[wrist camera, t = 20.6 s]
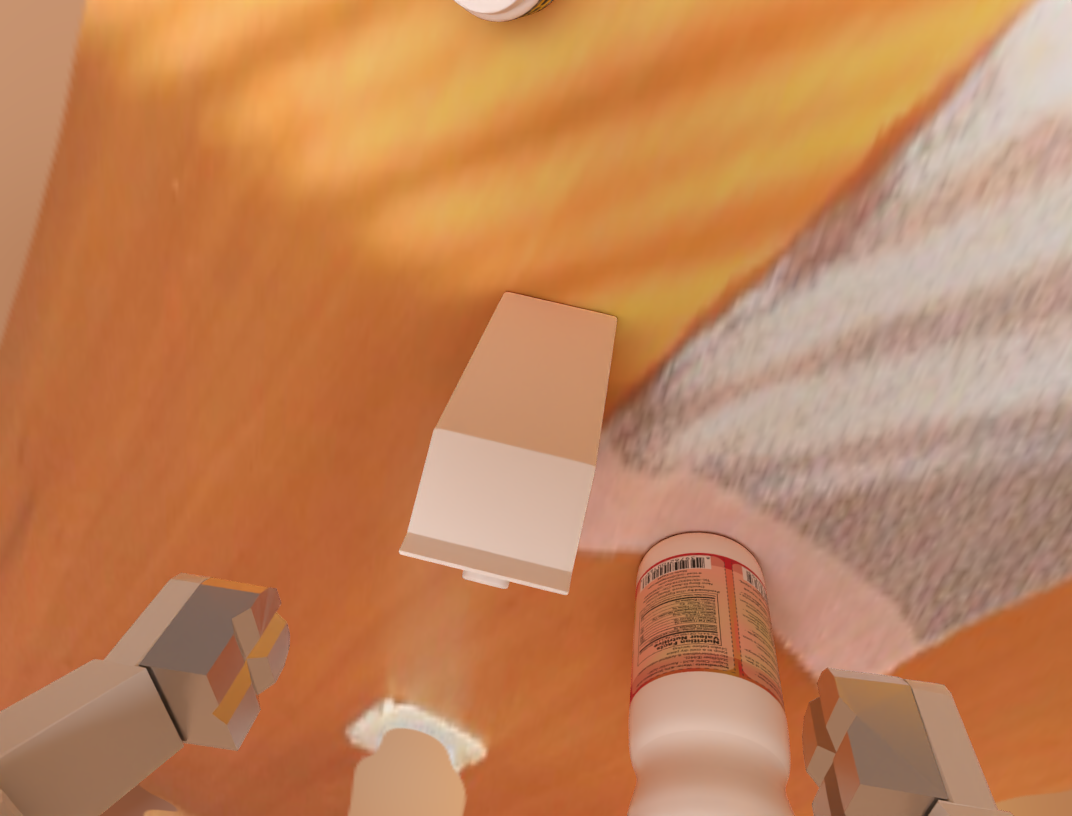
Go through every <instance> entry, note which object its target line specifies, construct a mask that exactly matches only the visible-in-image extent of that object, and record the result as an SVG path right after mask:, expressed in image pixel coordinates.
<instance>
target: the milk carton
mask: <svg viewBox="0 0 1072 816" xmlns="http://www.w3.org/2000/svg"><path fill="white" fill-rule="evenodd" d="M616 326H617V318H616V317H615V316H611V315H607V314H603V313H599V312H595V311H590V310H586V309H581V308H577V307H573V306H568V305H564V304H560V303H555V302H551V301H547V300H542V299H538V298H533V297H529V296H525V295H520V294H516V293H511V292H505V293H504V294H503V296H502V298H501V300H500V302H499V304H498V306H497V307H496V309H495V311H494V313H493V315H492V317H491V319H490V321H489V323H488V325H487V327H486V329H485V331H484V333H483V335H482V337H481V339H480V341H479V343H478V345H477V347H476V349H475V351H474V353H473V355H472V356H471V358H470V360H469V362H468V364H467V366H466V368H465V370H464V372H463V374H462V376H461V378H460V380H459V382H458V384H457V386H456V388H455V390H454V392H453V394H452V396H451V398H450V400H449V402H448V404H447V405H446V407H445V409H444V411H443V413H442V415H441V417H440V419H439V421H438V423H437V425H436V427H435V429H434V431H433V434H432V438H431V442H430V446H429V450H428V454H427V458H426V462H425V465H424V469H423V473H422V477H421V481H420V485H419V489H418V493H417V496H416V500H415V504H414V508H413V512H412V516H411V520H410V524H409V527H408V531H407V534H406V536H405V538H404V541H403V543H402V545H401V547H400V549H399V553H400V554H401V555H405V556H409V557H413V558H417V559H421V560H425V561H429V562H433V563H438V564H442V565H446V566H450V567H454V568H458V569H462V570H464V571H463V574H462V577H463V578H464V579H466V580H470V581H474V582H478V583H482V584H486V585H490V586H494V587H498V588H502V589H505V588H508V586H509V581H510V582H514V583H518V584H522V585H526V586H530V587H534V588H538V589H542V590H546V591H550V592H554V593H558V594H562V595H567V594H568V593H569V587H570V581H571V575H572V570H573V566H574V561H575V557H576V553H577V548H578V544H579V540H580V535H581V531H582V527H583V522H584V518H585V513H586V509H587V505H588V500H589V496H590V492H591V487H592V483H593V478H594V474H595V470H596V462H597V455H598V449H599V442H600V435H601V428H602V421H603V414H604V408H605V401H606V394H607V387H608V380H609V374H610V367H611V360H612V353H613V346H614V339H615V333H616Z"/></svg>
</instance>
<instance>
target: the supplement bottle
mask: <svg viewBox="0 0 1072 816" xmlns="http://www.w3.org/2000/svg"><path fill="white" fill-rule="evenodd" d="M454 1H455V2H456V3H457V4H459V5H460V6H462V7H463V8H464V9H466V10H467V11H468V12H470V13H471V14H473V15H475V16H477V17H479V18H481V19H484V20H488V21H493V22H503V21H510V20H513V19H517V18H520V17H523V16H526V15H529V14H532V13H535V12H537V11H540V10H542V9H543V8H545V7H546V6H547V5H549V4H550V3H551V2H552V1H553V0H454Z"/></svg>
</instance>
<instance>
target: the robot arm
mask: <svg viewBox="0 0 1072 816" xmlns="http://www.w3.org/2000/svg"><path fill="white" fill-rule="evenodd" d="M280 605H281V600H280V598H279V595H278V592H277V589H276V588H270V587H264V586H259V585H253V584H247V583H241V582H235V581H229V580H224V579H218V578H213V577H206V576H200V575H193V574H187V573H180V574H178V575H177V576H175V577H173V578H172V579H170V580H169V581H168V582H167V584H166V585H165V586H164V587H163V588H162V590H161V591H160V592H159V593H158V594H157V596H156V597H155V598H154V599H153V601H152V602H151V603H150V604H149V605H148V607H147V608H146V609H145V610H144V611H143V613H142V614H141V615H140V616H139V618H138V619H137V620H136V621H135V622H134V624H133V625H132V626H131V627H130V628H129V630H128V631H127V632H126V633H125V635H124V636H123V637H122V638H121V639H120V641H119V642H118V643H117V644H116V645H115V647H114V648H113V649H112V650H111V652H110V653H109V654H108V655H107V656H106V658H105V659H104V660H98V659H93V660H92V661H90V662H88V663H86V664H84V665H83V666H81V667H79V668H77V669H76V670H74V671H72V672H70V673H68V674H67V675H65V676H63V677H61V678H59V679H58V680H56V681H54V682H52V683H51V684H49V685H47V686H45V687H43V688H42V689H40V690H38V691H36V692H35V693H33V694H31V695H29V696H27V697H26V698H24V699H22V700H20V701H18V702H17V703H15V704H13V705H11V706H10V707H8V708H6V709H4V710H2V711H1V712H0V816H100V815H101V814H102V813H103V812H104V811H106V810H107V809H108V808H109V807H111V806H112V805H113V804H114V803H115V802H117V801H118V800H119V799H120V798H122V797H123V796H124V795H125V794H126V793H128V792H129V791H130V790H131V789H132V788H134V787H135V786H136V785H137V784H139V783H140V782H141V781H142V780H144V779H145V778H146V777H147V776H148V775H150V774H151V773H152V772H153V771H155V770H156V769H157V768H158V767H159V766H161V765H162V764H163V763H164V762H166V761H167V760H168V759H169V758H170V757H172V756H173V755H174V754H175V753H177V752H178V751H179V750H180V749H181V748H183V747H184V744H183V743H188V744H195V745H202V746H208V747H215V748H222V749H228V750H235V751H238V749H239V747H240V746H241V744H242V742H243V740H244V738H245V737H246V735H247V733H248V731H249V729H250V728H251V726H252V724H253V722H254V720H255V719H256V717H257V715H258V713H259V711H260V710H261V709H260V702H259V694H260V693H261V692H263V691H264V690H266V689H267V688H269V687H270V686H272V685H273V684H274V683H275V682H276V681H277V679H278V677H279V675H280V673H281V671H282V669H283V667H284V665H285V661H286V658H287V654H288V650H289V647H290V632H289V628H288V625H287V622H286V621H285V620H284V619H283V618H282V617H281V616H280V615H279V614H277V613H276V611H277V610H278V608H279V606H280ZM817 685H818V690H819V695H820V697H818V698H816V699H815V700H813V701H811V702H809V704H808V707H807V710H806V713H805V716H804V723H803V733H802V741H803V754H804V761H805V767H806V771H807V773H808V774H809V775H810V776H811V778H812V779H813V780H814V781H815V783H816V784H817V785H818V787H819V790H818V792H817V794H816V796H815V799H814V801H813V803H812V808H813V813H814V816H1014V815H1013V814H1012V813H1011V812H1007V811H1002V810H998V809H997V806H996V804H995V801H994V799H993V796H992V794H991V791H990V789H989V786H988V784H987V781H986V779H985V776H984V774H983V771H982V769H981V766H980V764H979V761H978V759H977V756H976V754H975V751H974V749H973V746H972V744H971V741H970V739H969V736H968V734H967V731H966V729H965V726H964V724H963V721H962V719H961V716H960V714H959V712H958V709H957V707H956V704H955V702H954V699H953V697H952V694H951V692H950V691H949V690H948V689H947V688H946V687H945V686H944V685H942V684H937V683H930V682H922V681H915V680H908V679H901V678H900V677H893V676H886V675H878V674H871V673H863V672H855V671H848V670H840V669H833V668H826V669H825V670H824V671H822V673H821V675H820V677H819V680H818V682H817Z"/></svg>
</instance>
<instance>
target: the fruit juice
mask: <svg viewBox="0 0 1072 816" xmlns="http://www.w3.org/2000/svg"><path fill="white" fill-rule="evenodd" d="M629 750H630V758H631V762H632V766H633V768H634V771H635V773H636V777H637V782H636V786H635V789H634V793H633V796H632V799H631V802H630V805H629V809H628V813H627V816H795V815H794V812H793V810H792V808H791V805H790V803H789V800H788V798H787V796H786V790H785V789H786V784H787V781H788V778H789V773H790V743H789V733H788V725H787V719H786V714H785V709H784V703H783V696H782V690H781V683H780V677H779V670H778V664H777V658H776V651H775V645H774V638H773V632H772V625H771V619H770V613H769V606H768V600H767V594H766V587H765V581H764V577H763V574H762V571H761V569H760V566H759V564H758V563H757V561H756V559H755V558H754V557H753V555H752V554H751V553H750V552H749V551H748V550H747V549H745V548H744V547H743V546H742V545H740V544H738V543H737V542H735V541H733V540H731V539H728V538H726V537H723V536H719V535H715V534H709V533H685V534H680V535H676V536H672V537H670V538H667V539H665V540H663V541H661V542H659V543H658V544H656V545H655V546H653V547H652V548H651V549H650V550H649V551H648V552H647V554H646V555H645V556H644V558H643V560H642V562H641V564H640V566H639V570H638V574H637V580H636V597H635V616H634V635H633V654H632V674H631V693H630V708H629Z"/></svg>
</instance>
